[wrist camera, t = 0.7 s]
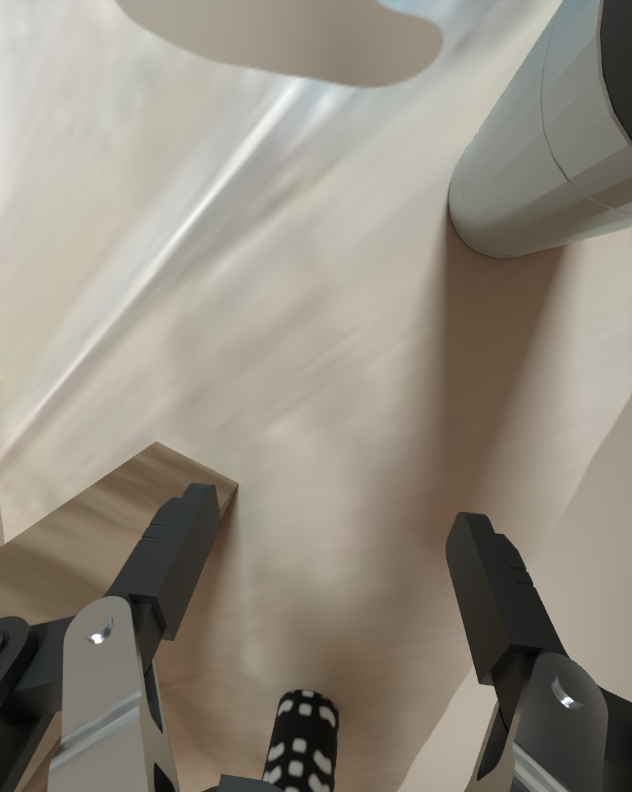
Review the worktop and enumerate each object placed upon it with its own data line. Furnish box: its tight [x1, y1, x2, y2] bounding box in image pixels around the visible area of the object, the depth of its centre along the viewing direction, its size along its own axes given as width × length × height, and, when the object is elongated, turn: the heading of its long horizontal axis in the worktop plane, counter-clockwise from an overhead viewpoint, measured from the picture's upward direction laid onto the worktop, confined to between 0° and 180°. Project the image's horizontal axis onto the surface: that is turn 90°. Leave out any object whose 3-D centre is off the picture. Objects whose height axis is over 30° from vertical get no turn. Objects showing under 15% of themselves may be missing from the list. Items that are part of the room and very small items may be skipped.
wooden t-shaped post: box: [0, 442, 238, 792], centre depth 22 cm, size 20×13×32 cm, turn 155°
